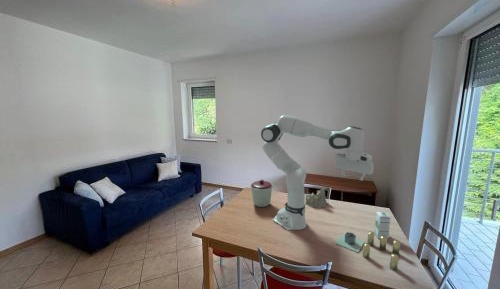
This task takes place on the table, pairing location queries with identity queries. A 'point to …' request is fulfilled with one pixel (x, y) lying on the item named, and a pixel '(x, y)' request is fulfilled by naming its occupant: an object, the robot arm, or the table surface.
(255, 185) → the canister
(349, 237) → the hex nut
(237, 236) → the table surface
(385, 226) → the syrup box
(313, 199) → the jagged green rock
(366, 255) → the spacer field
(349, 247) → the mat
